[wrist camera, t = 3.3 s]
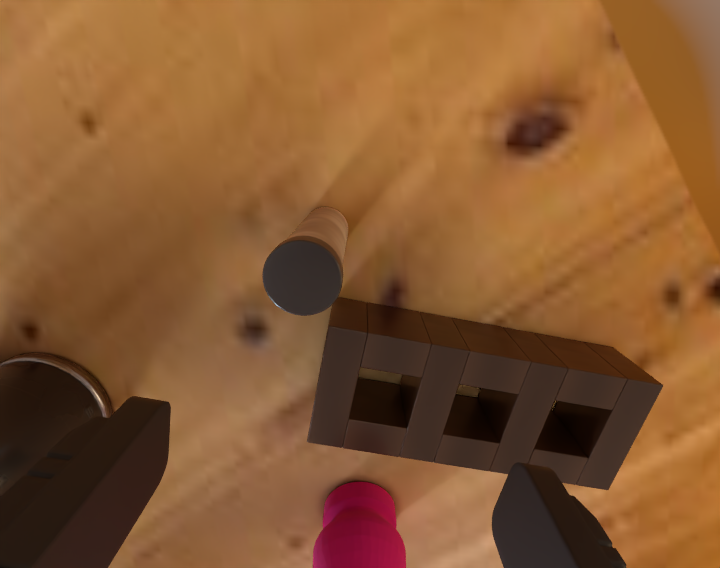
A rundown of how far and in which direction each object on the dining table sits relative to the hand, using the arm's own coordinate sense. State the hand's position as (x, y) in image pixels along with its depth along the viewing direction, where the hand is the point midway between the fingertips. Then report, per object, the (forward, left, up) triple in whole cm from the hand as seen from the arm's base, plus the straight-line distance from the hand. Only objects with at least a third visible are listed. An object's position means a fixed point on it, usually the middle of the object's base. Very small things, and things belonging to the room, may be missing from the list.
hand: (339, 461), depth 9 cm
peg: (-2, +2, -18) cm, 19 cm away
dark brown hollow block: (+10, -7, -18) cm, 22 cm away
